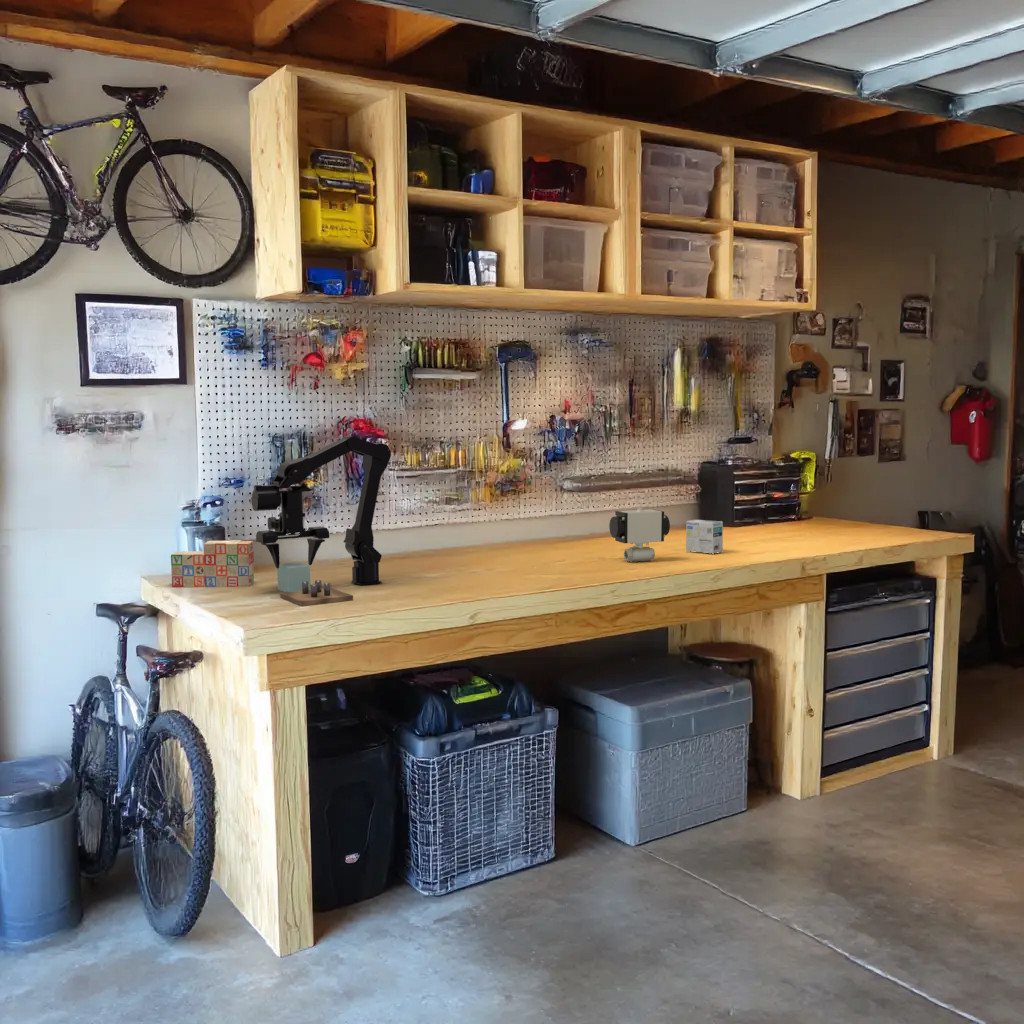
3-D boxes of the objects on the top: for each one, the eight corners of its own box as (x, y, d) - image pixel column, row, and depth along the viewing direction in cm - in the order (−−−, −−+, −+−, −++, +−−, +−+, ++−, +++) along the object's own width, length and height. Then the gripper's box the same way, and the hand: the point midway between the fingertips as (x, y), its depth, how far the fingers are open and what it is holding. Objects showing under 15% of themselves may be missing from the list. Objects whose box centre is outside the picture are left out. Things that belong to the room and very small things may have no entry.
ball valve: (657, 557, 330) (658, 503, 328) (669, 561, 322) (670, 505, 320) (607, 560, 324) (607, 505, 322) (618, 564, 316) (618, 507, 314)
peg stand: (330, 592, 270) (330, 576, 270) (353, 600, 259) (352, 583, 258) (280, 597, 263) (279, 581, 262) (301, 606, 251) (300, 589, 251)
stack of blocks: (171, 587, 279) (169, 543, 277) (178, 583, 285) (176, 540, 284) (249, 587, 279) (248, 542, 278) (254, 583, 286) (253, 539, 284)
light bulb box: (723, 552, 341) (723, 520, 340) (713, 555, 336) (713, 522, 335) (695, 550, 348) (695, 518, 347) (685, 552, 343) (685, 520, 342)
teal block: (298, 587, 278) (298, 562, 277) (310, 591, 271) (309, 566, 271) (278, 589, 275) (277, 564, 274) (289, 594, 268) (288, 568, 267)
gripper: (312, 504, 283) (314, 559, 284) (247, 508, 272) (249, 566, 274) (329, 507, 274) (330, 564, 275) (262, 512, 263) (264, 571, 265)
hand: (293, 566), depth 272 cm, fingers open, 9 cm apart
